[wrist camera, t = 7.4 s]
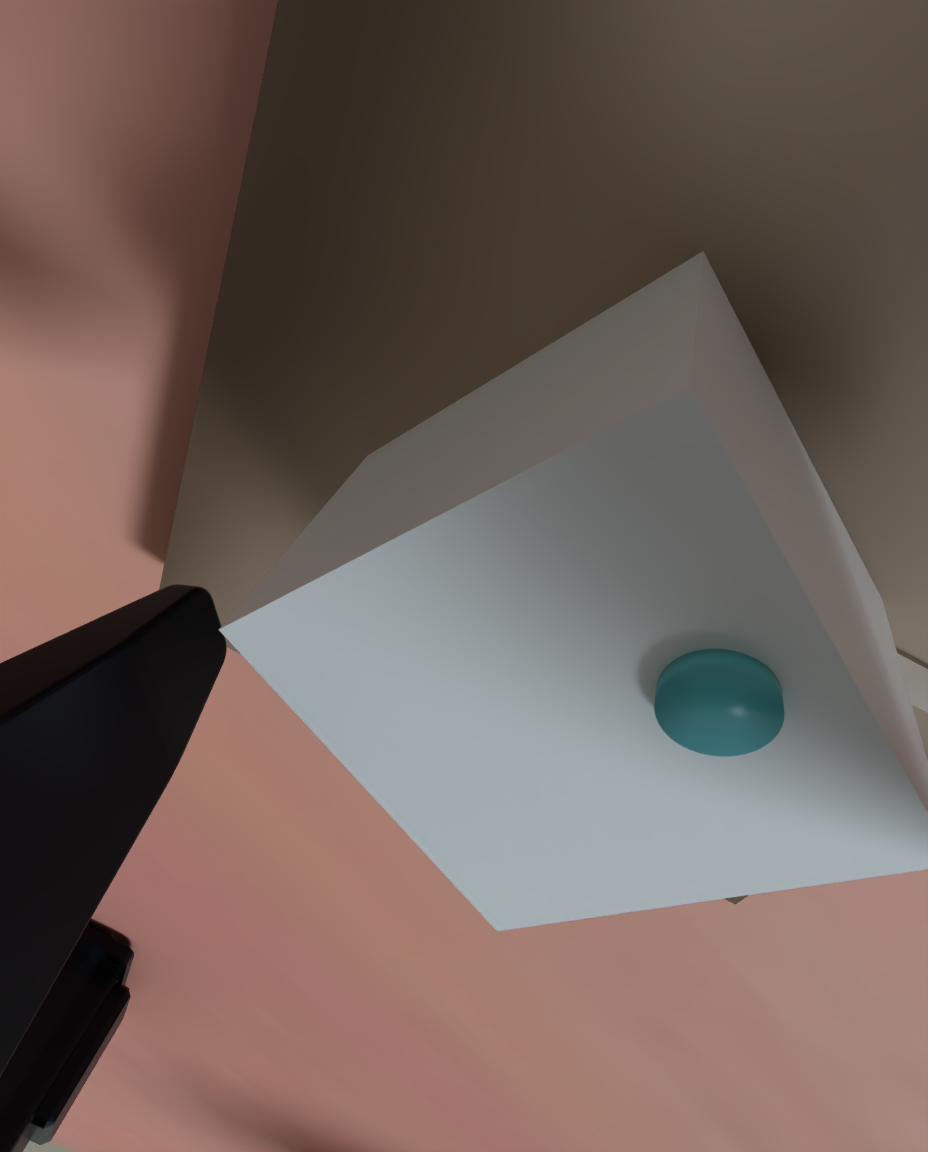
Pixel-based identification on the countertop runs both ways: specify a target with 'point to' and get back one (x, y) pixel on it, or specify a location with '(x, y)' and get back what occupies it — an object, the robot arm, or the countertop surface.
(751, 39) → the post stand
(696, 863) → the white cube
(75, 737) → the robot arm
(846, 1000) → the countertop surface
